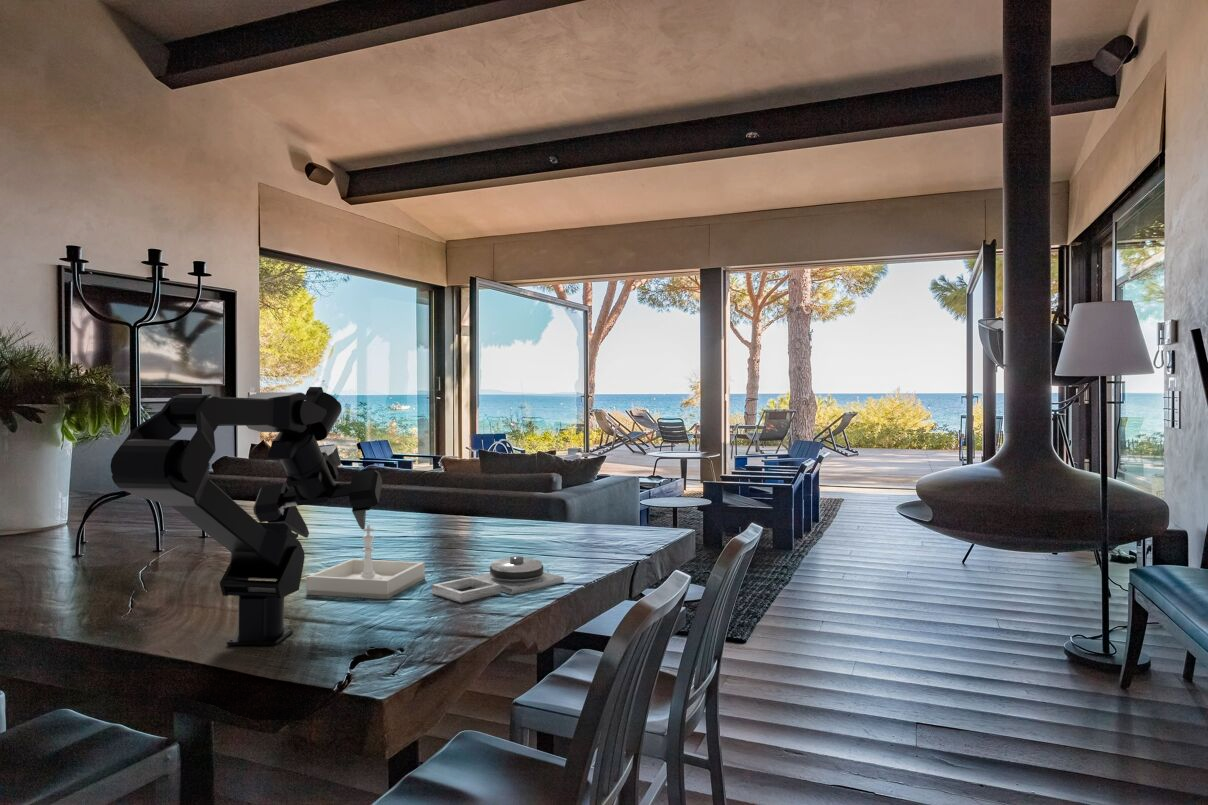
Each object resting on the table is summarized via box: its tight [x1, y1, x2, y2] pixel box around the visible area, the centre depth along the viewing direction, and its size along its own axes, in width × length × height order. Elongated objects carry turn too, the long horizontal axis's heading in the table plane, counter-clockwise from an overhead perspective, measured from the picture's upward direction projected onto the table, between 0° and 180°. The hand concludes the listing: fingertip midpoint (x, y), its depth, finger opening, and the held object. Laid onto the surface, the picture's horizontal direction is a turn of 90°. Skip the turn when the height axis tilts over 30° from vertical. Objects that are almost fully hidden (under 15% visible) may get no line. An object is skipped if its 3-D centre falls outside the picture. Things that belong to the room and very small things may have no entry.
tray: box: [305, 558, 426, 600], centre depth 130 cm, size 15×15×3 cm
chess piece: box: [355, 524, 382, 579], centre depth 130 cm, size 5×5×10 cm
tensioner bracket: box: [431, 555, 565, 604], centre depth 130 cm, size 21×12×4 cm, turn 136°
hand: (335, 531), depth 121 cm, fingers open, 9 cm apart
